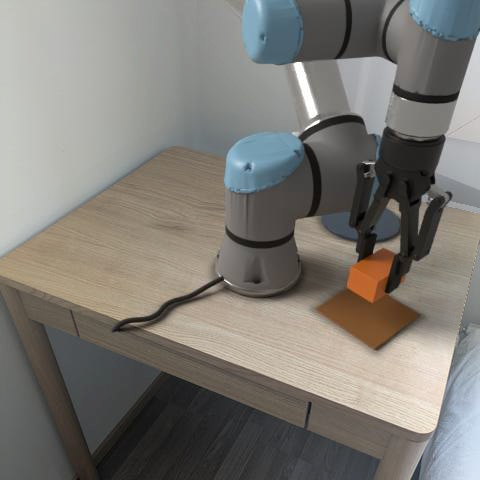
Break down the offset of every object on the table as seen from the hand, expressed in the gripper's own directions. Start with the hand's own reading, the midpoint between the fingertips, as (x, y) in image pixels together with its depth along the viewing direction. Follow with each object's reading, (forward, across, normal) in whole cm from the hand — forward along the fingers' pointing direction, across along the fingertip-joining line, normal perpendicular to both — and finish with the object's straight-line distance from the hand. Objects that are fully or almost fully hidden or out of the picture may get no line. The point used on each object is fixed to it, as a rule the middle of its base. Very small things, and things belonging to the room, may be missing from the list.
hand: (376, 280), depth 76 cm
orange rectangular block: (+1, 0, 0) cm, 1 cm away
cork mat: (+7, 0, 0) cm, 7 cm away
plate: (+7, +19, -22) cm, 30 cm away
